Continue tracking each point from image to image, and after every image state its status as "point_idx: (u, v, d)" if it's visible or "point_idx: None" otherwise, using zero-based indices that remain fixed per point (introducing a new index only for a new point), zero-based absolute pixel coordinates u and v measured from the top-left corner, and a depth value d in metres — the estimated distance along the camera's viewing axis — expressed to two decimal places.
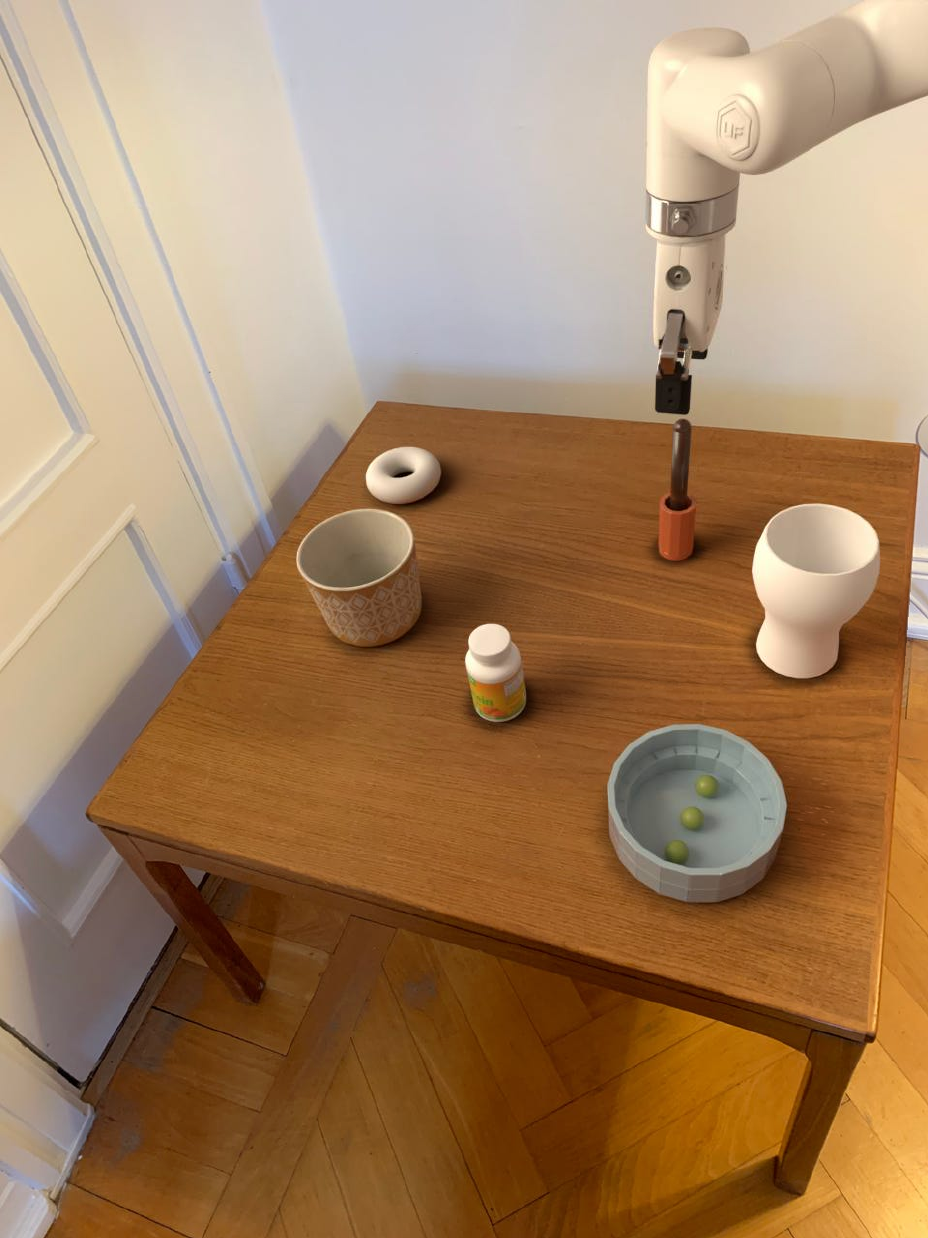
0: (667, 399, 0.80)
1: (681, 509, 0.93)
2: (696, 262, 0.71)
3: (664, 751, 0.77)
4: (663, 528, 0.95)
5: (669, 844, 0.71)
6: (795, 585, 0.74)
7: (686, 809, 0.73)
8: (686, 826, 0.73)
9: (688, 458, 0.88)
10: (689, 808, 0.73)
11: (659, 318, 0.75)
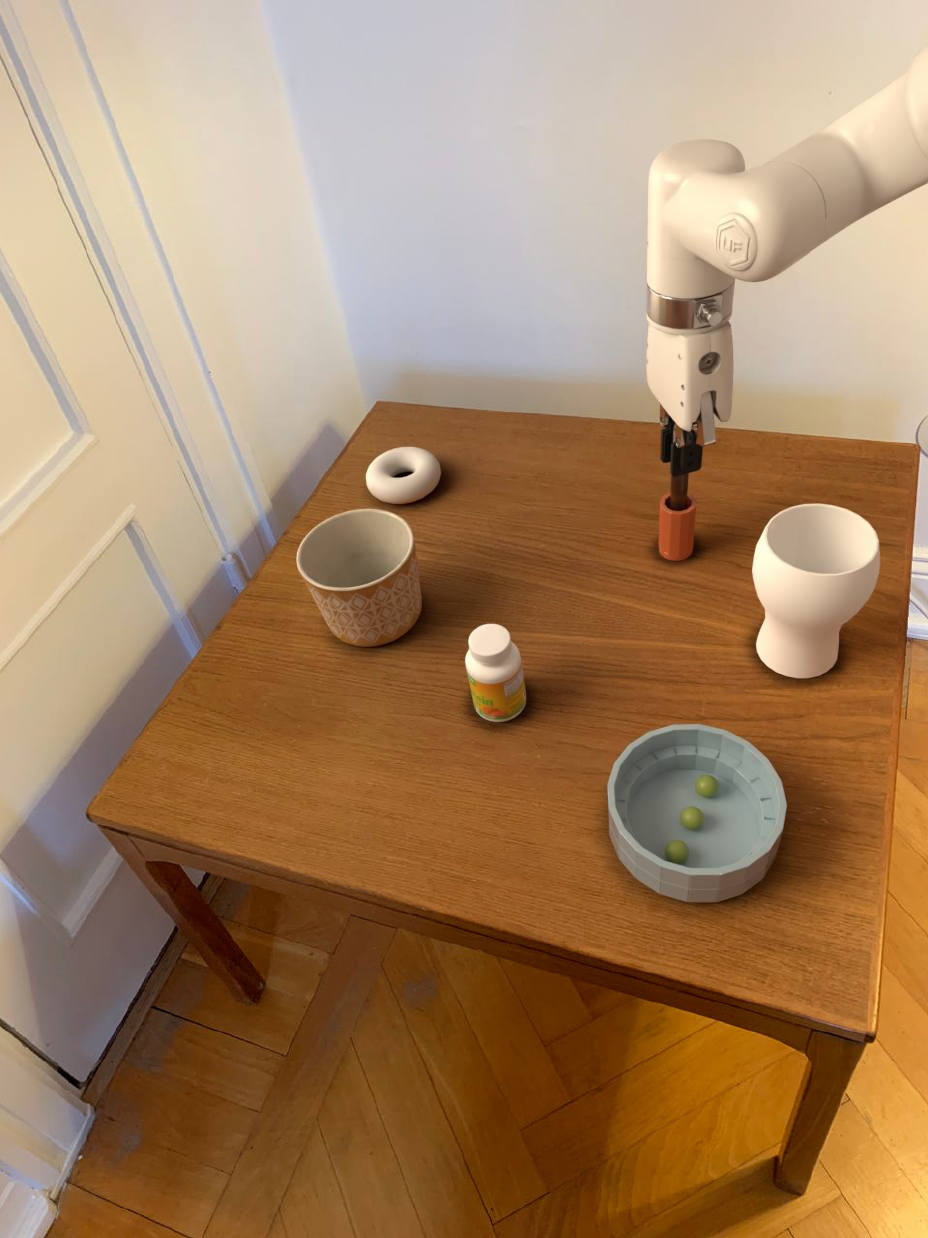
0: (687, 462, 0.87)
1: (681, 509, 0.93)
2: (725, 345, 0.75)
3: (664, 751, 0.77)
4: (663, 528, 0.95)
5: (669, 844, 0.71)
6: (795, 585, 0.74)
7: (686, 809, 0.73)
8: (686, 826, 0.73)
9: None
10: (689, 808, 0.73)
11: (693, 404, 0.78)
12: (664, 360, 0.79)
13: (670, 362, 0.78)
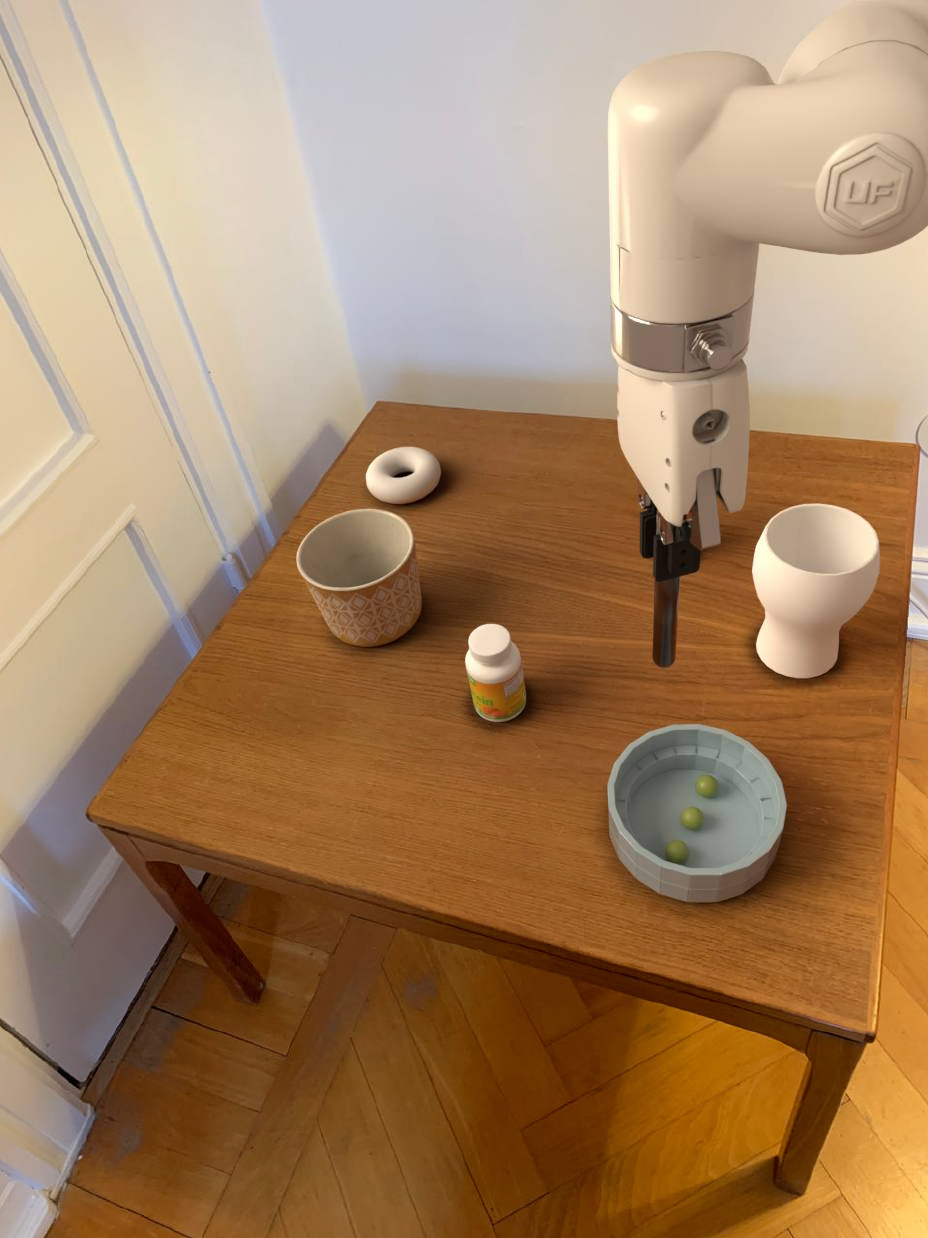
0: (678, 564, 0.58)
1: (669, 622, 0.64)
2: (736, 398, 0.46)
3: (664, 751, 0.77)
4: None
5: (669, 844, 0.71)
6: (795, 585, 0.74)
7: (686, 809, 0.73)
8: (686, 826, 0.73)
9: None
10: (689, 808, 0.73)
11: (685, 488, 0.49)
12: (640, 418, 0.50)
13: (649, 422, 0.49)
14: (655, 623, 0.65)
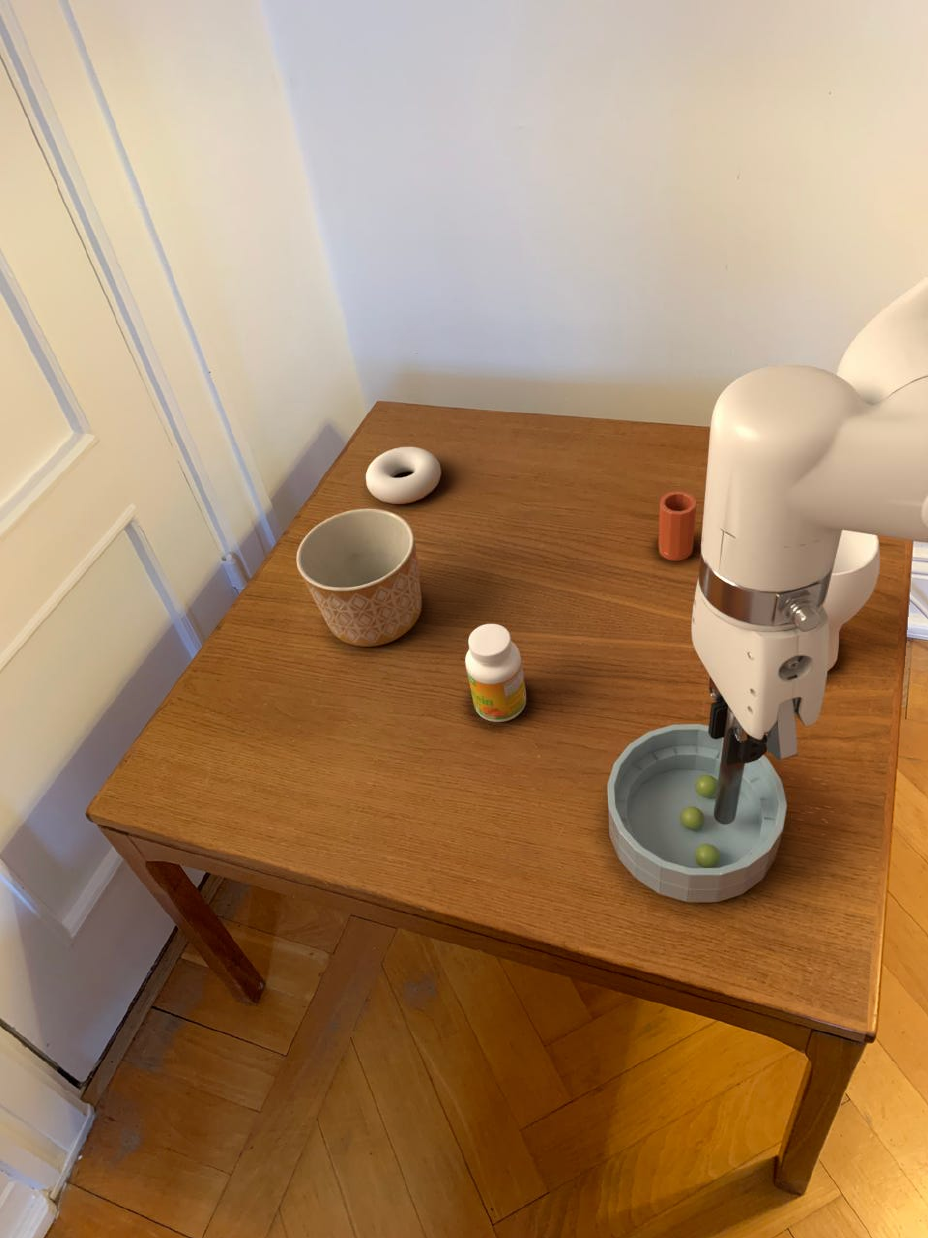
0: (749, 754, 0.62)
1: (734, 791, 0.68)
2: (819, 645, 0.50)
3: (664, 751, 0.77)
4: (663, 528, 0.95)
5: None
6: None
7: (686, 809, 0.73)
8: (686, 826, 0.73)
9: None
10: (689, 808, 0.73)
11: (768, 714, 0.54)
12: (723, 645, 0.55)
13: (733, 653, 0.53)
14: (719, 790, 0.69)
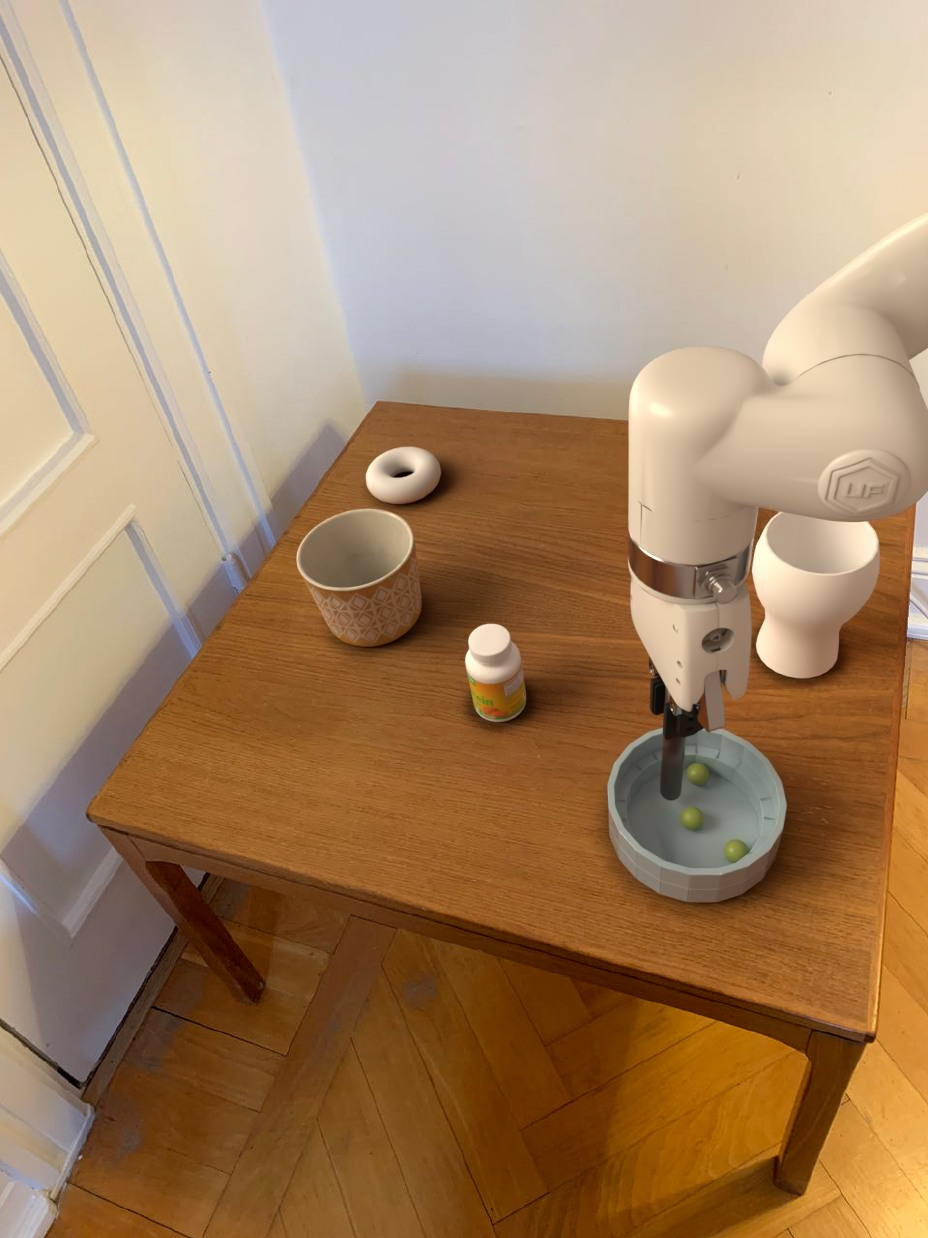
0: (685, 728, 0.64)
1: (676, 767, 0.70)
2: (740, 618, 0.52)
3: None
4: None
5: (726, 858, 0.71)
6: (795, 584, 0.74)
7: (686, 809, 0.73)
8: (686, 826, 0.73)
9: None
10: (689, 808, 0.73)
11: (694, 685, 0.56)
12: (654, 619, 0.57)
13: (662, 627, 0.55)
14: (663, 766, 0.71)
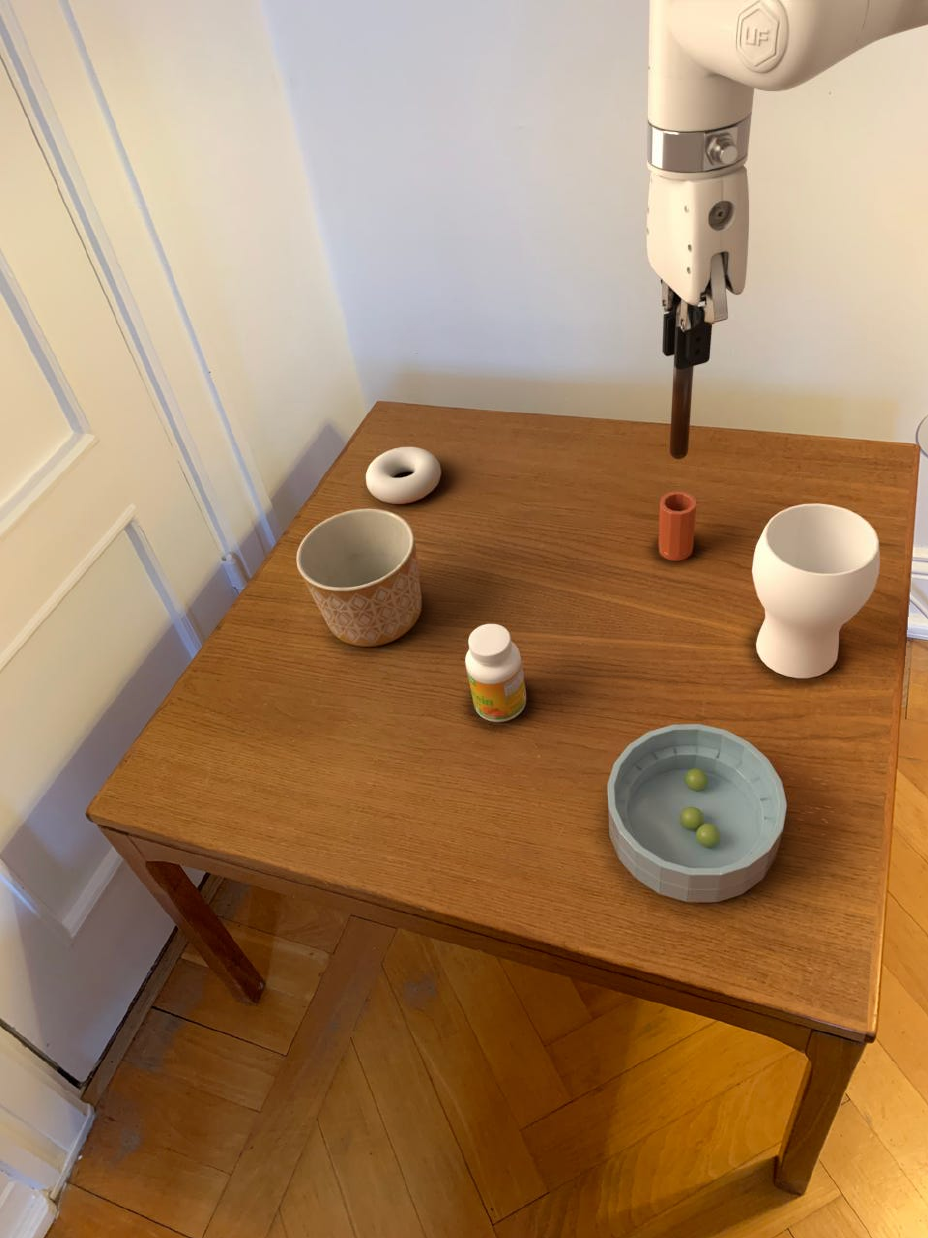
0: (693, 350, 0.75)
1: (684, 412, 0.82)
2: (740, 192, 0.64)
3: (664, 751, 0.77)
4: (663, 528, 0.95)
5: (710, 845, 0.71)
6: (795, 584, 0.74)
7: (685, 809, 0.73)
8: (686, 826, 0.73)
9: None
10: (688, 808, 0.73)
11: (702, 268, 0.67)
12: (668, 220, 0.68)
13: (675, 219, 0.67)
14: (673, 415, 0.82)
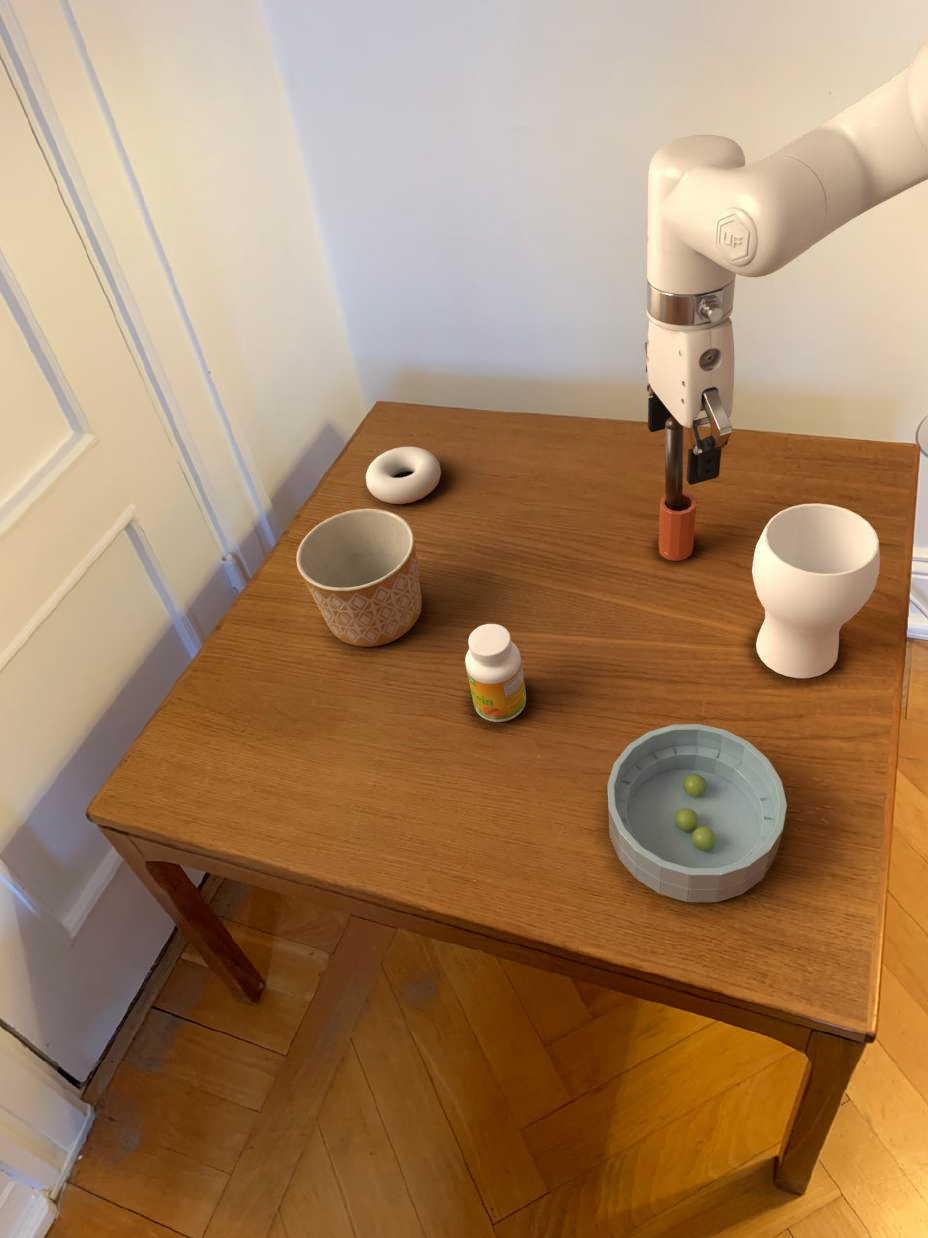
0: (704, 470, 0.83)
1: (676, 508, 0.93)
2: (726, 341, 0.75)
3: (664, 751, 0.77)
4: (663, 528, 0.95)
5: (706, 850, 0.72)
6: (795, 585, 0.74)
7: (676, 813, 0.74)
8: None
9: (681, 455, 0.89)
10: (678, 812, 0.73)
11: (694, 400, 0.78)
12: (665, 357, 0.79)
13: (671, 359, 0.78)
14: None
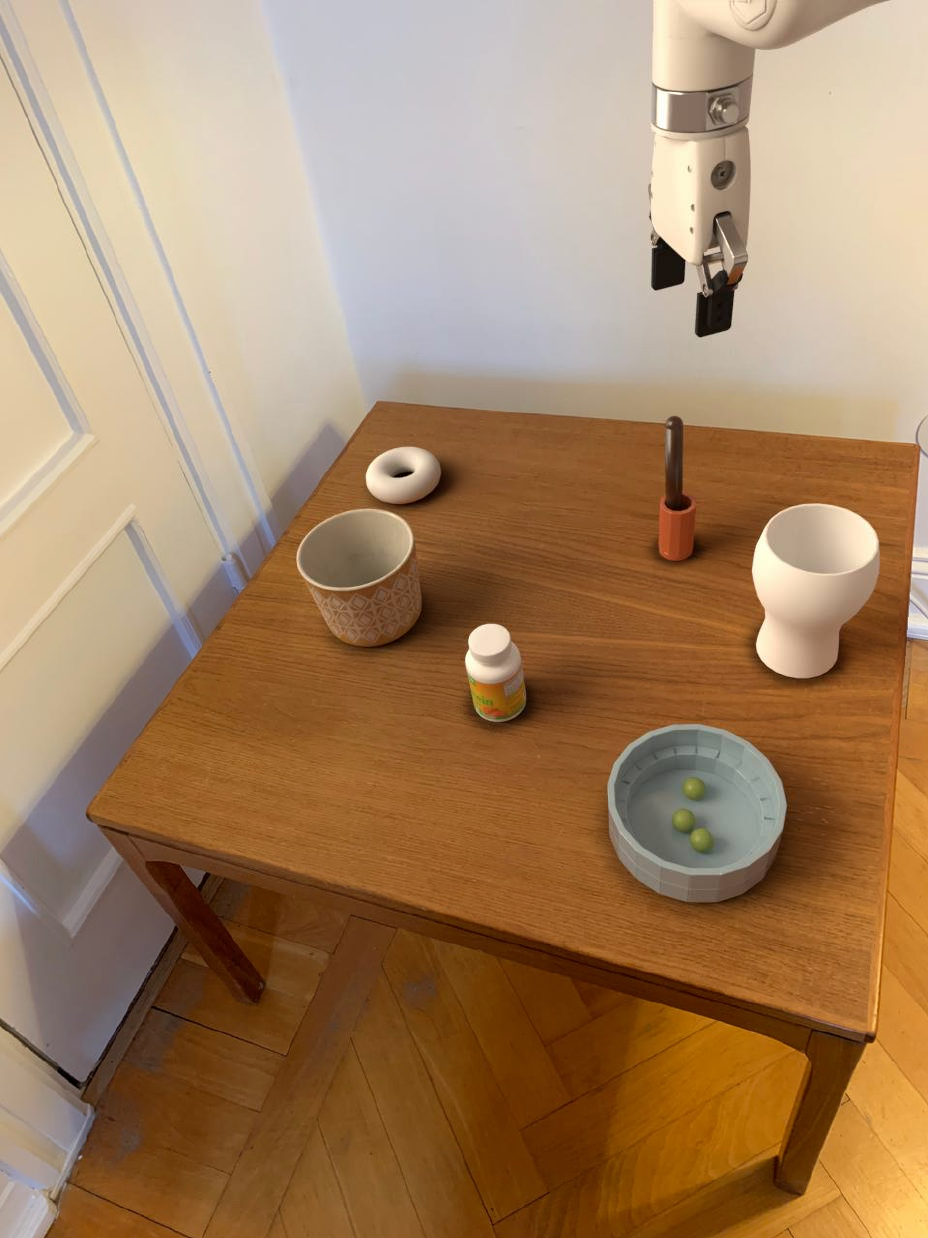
0: (715, 317, 0.74)
1: (676, 508, 0.93)
2: (741, 152, 0.66)
3: (664, 751, 0.77)
4: (663, 528, 0.95)
5: (704, 852, 0.72)
6: (795, 585, 0.74)
7: None
8: (679, 831, 0.73)
9: (681, 455, 0.89)
10: (674, 814, 0.73)
11: (705, 228, 0.69)
12: (671, 181, 0.70)
13: (678, 180, 0.69)
14: None
